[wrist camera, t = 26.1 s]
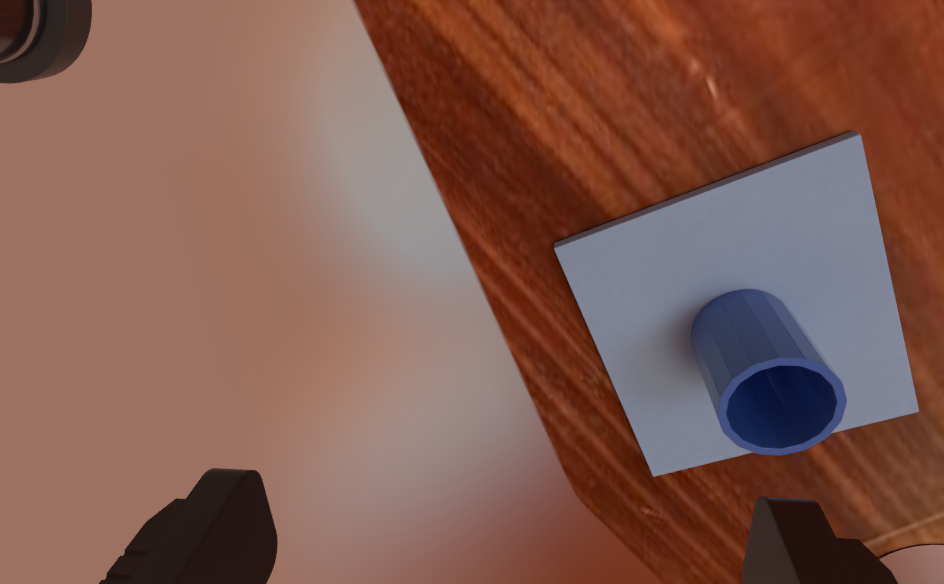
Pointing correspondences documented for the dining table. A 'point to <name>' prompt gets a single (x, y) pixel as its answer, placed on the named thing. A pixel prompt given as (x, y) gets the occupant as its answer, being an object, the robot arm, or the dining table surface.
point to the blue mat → (742, 268)
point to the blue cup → (765, 374)
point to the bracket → (917, 564)
